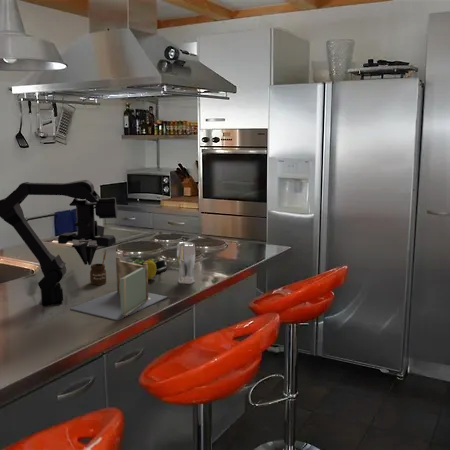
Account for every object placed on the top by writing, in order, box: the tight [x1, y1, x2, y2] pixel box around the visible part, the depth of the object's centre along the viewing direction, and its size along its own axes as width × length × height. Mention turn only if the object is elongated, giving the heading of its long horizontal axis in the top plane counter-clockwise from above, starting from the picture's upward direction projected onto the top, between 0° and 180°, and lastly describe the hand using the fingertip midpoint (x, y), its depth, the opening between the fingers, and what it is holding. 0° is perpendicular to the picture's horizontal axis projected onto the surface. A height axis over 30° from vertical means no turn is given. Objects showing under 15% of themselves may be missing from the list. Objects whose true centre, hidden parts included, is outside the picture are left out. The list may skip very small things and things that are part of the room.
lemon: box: [144, 258, 157, 280], centre depth 205 cm, size 6×6×8 cm
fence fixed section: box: [115, 257, 149, 300], centre depth 184 cm, size 15×2×13 cm, turn 54°
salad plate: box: [130, 258, 168, 274], centre depth 221 cm, size 19×18×5 cm
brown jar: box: [89, 250, 107, 286], centre depth 200 cm, size 6×6×12 cm
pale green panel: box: [120, 267, 146, 313], centre depth 172 cm, size 15×2×11 cm, turn 162°
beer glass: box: [176, 241, 196, 285], centre depth 201 cm, size 7×7×15 cm
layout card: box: [70, 289, 168, 322], centre depth 178 cm, size 26×20×1 cm
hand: (87, 264), depth 177 cm, fingers closed
